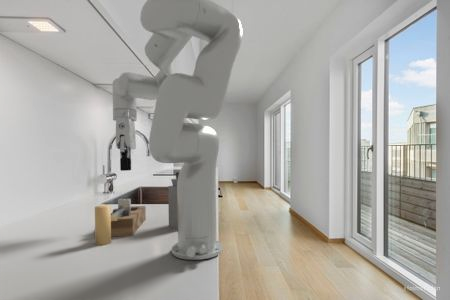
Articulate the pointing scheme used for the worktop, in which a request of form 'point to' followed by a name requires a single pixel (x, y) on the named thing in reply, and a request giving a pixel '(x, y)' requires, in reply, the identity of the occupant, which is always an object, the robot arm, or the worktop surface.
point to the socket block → (128, 221)
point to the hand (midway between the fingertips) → (125, 170)
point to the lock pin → (121, 209)
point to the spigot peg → (102, 225)
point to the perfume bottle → (173, 203)
